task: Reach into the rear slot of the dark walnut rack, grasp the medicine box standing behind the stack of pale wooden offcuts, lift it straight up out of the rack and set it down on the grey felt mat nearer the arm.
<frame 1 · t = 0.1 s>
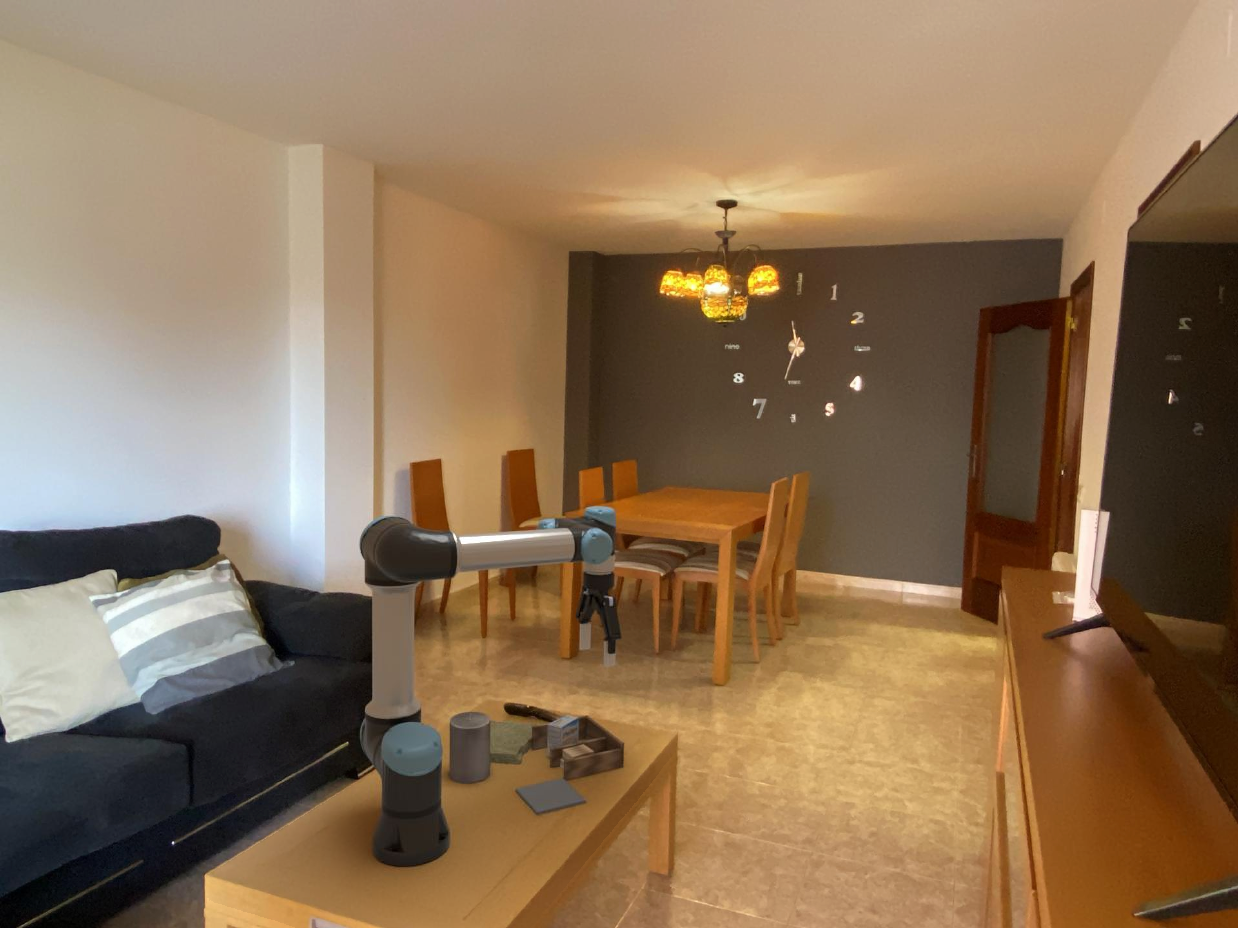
hand: (596, 657, 202), 28 cm above the table, fingers open, 13 cm apart
offcut short: (577, 760, 204), point 2 cm above the table
rack: (576, 757, 210), on the table
green stone slab: (497, 748, 216), on the table
pillar candle: (469, 775, 200), on the table
medicine box: (562, 754, 213), on the table
mat: (550, 796, 190), on the table
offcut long: (579, 769, 205), on the table
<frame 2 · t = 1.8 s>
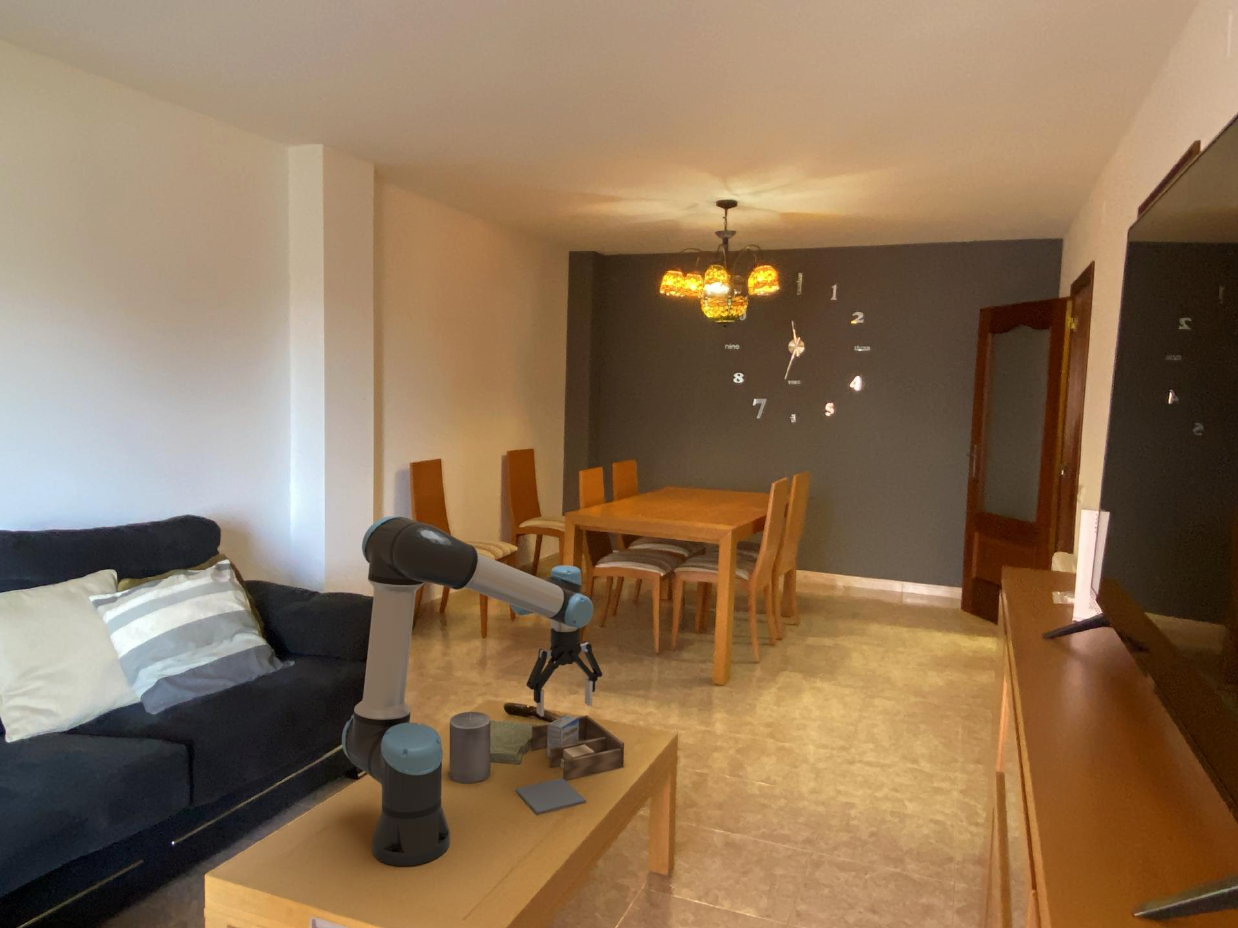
hand: (564, 709, 212), 11 cm above the table, fingers open, 13 cm apart
offcut short: (578, 760, 204), point 2 cm above the table, touching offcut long
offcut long: (579, 769, 205), on the table, touching offcut short
everything else where it was.
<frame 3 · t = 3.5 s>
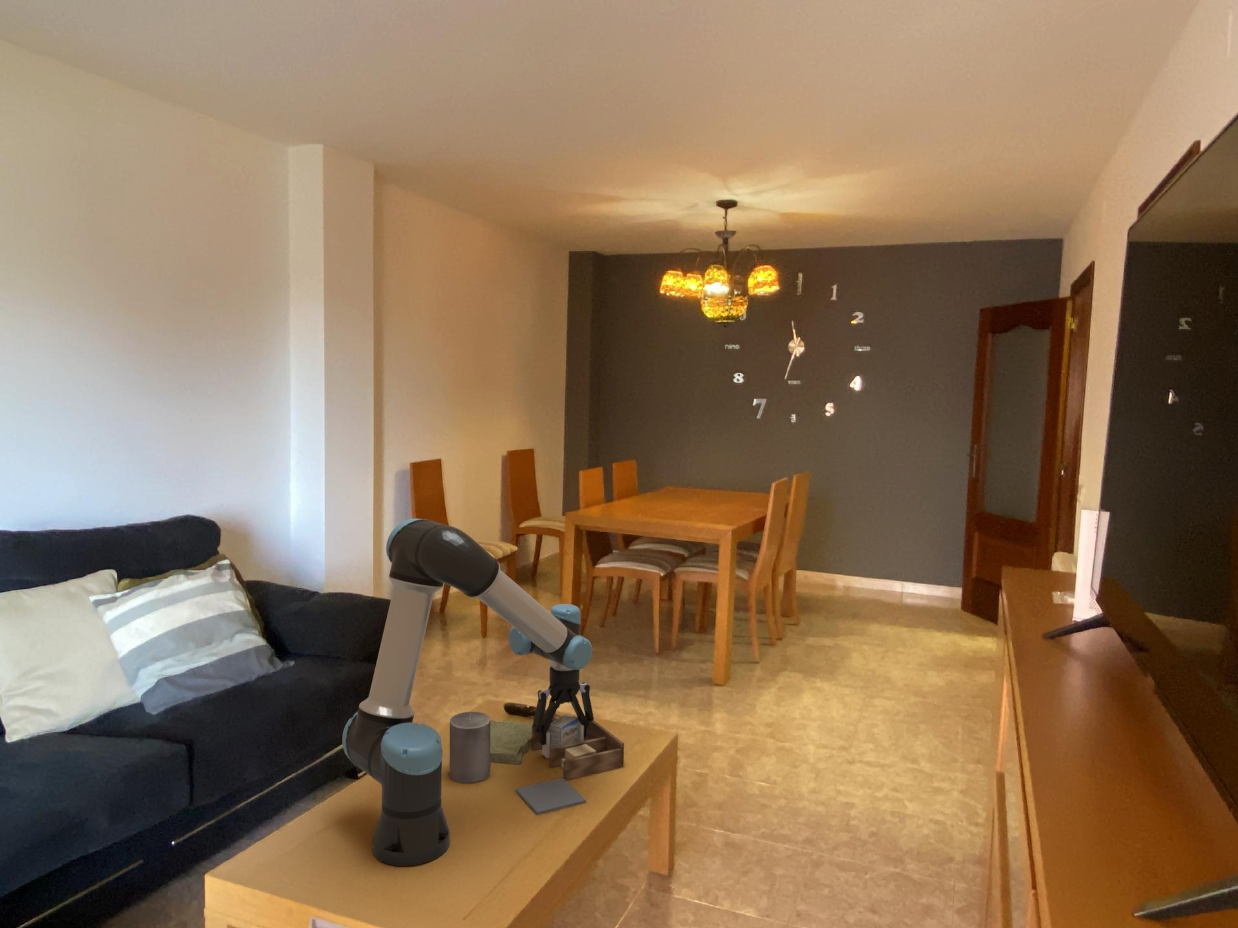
hand: (562, 752, 213), 0 cm above the table, fingers closed on medicine box, 9 cm apart
medicine box: (562, 753, 213), on the table, touching gripper
everything else where it was.
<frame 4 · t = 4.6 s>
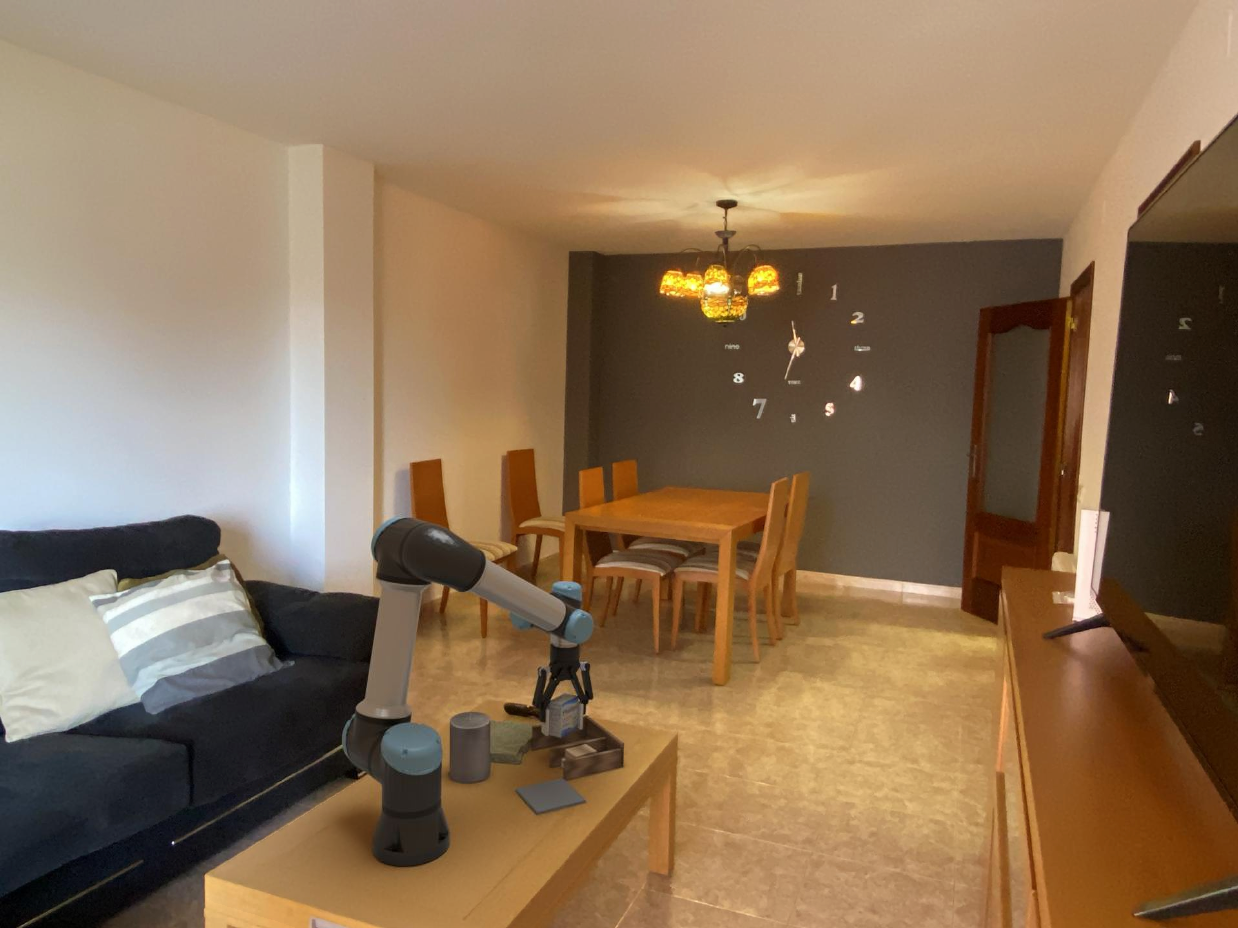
hand: (562, 730, 212), 6 cm above the table, fingers closed on medicine box, 9 cm apart
medicine box: (562, 732, 212), point 6 cm above the table, touching gripper
everything else where it was.
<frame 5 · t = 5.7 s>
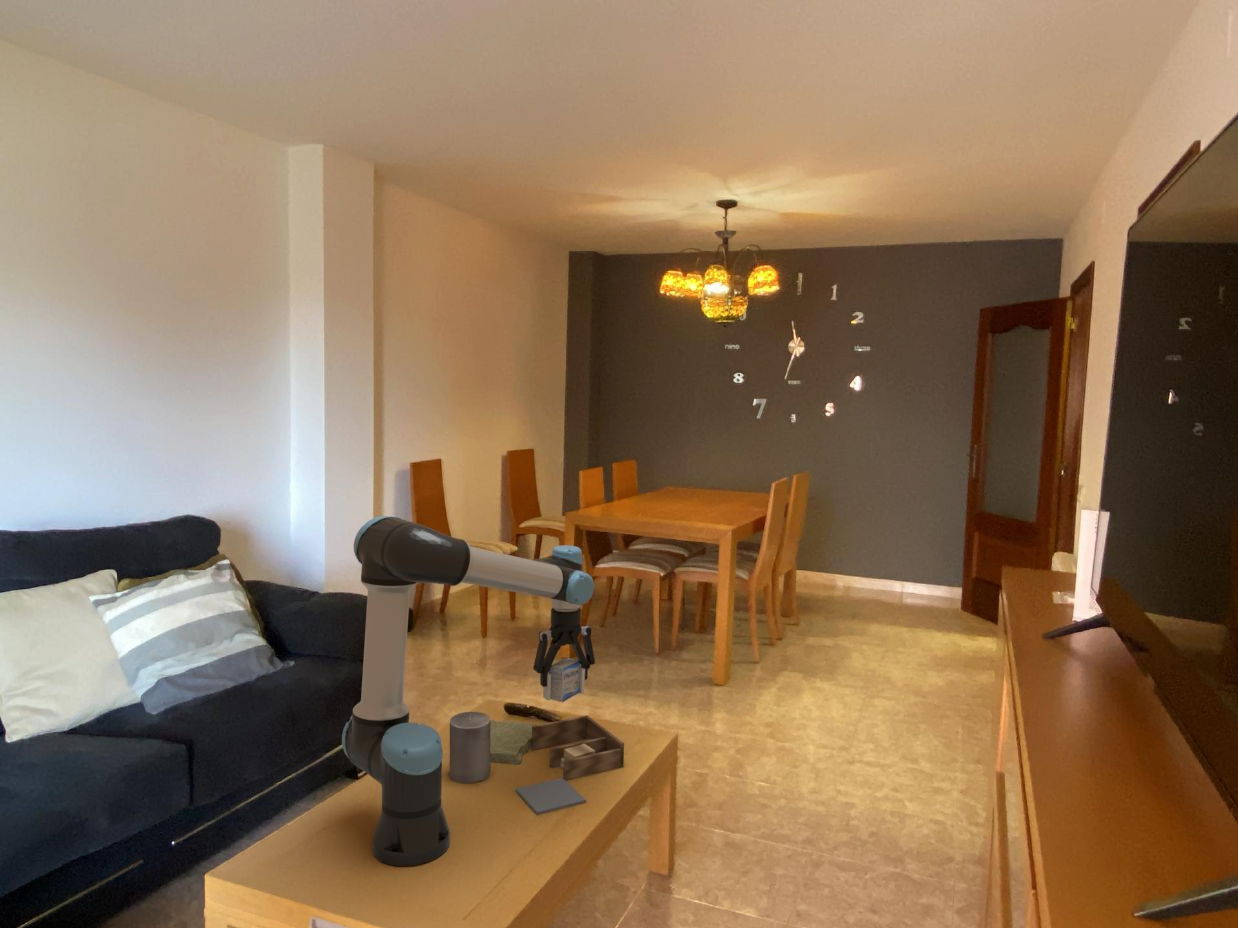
hand: (563, 695, 211), 15 cm above the table, fingers closed on medicine box, 9 cm apart
medicine box: (563, 696, 211), point 15 cm above the table, touching gripper
everything else where it was.
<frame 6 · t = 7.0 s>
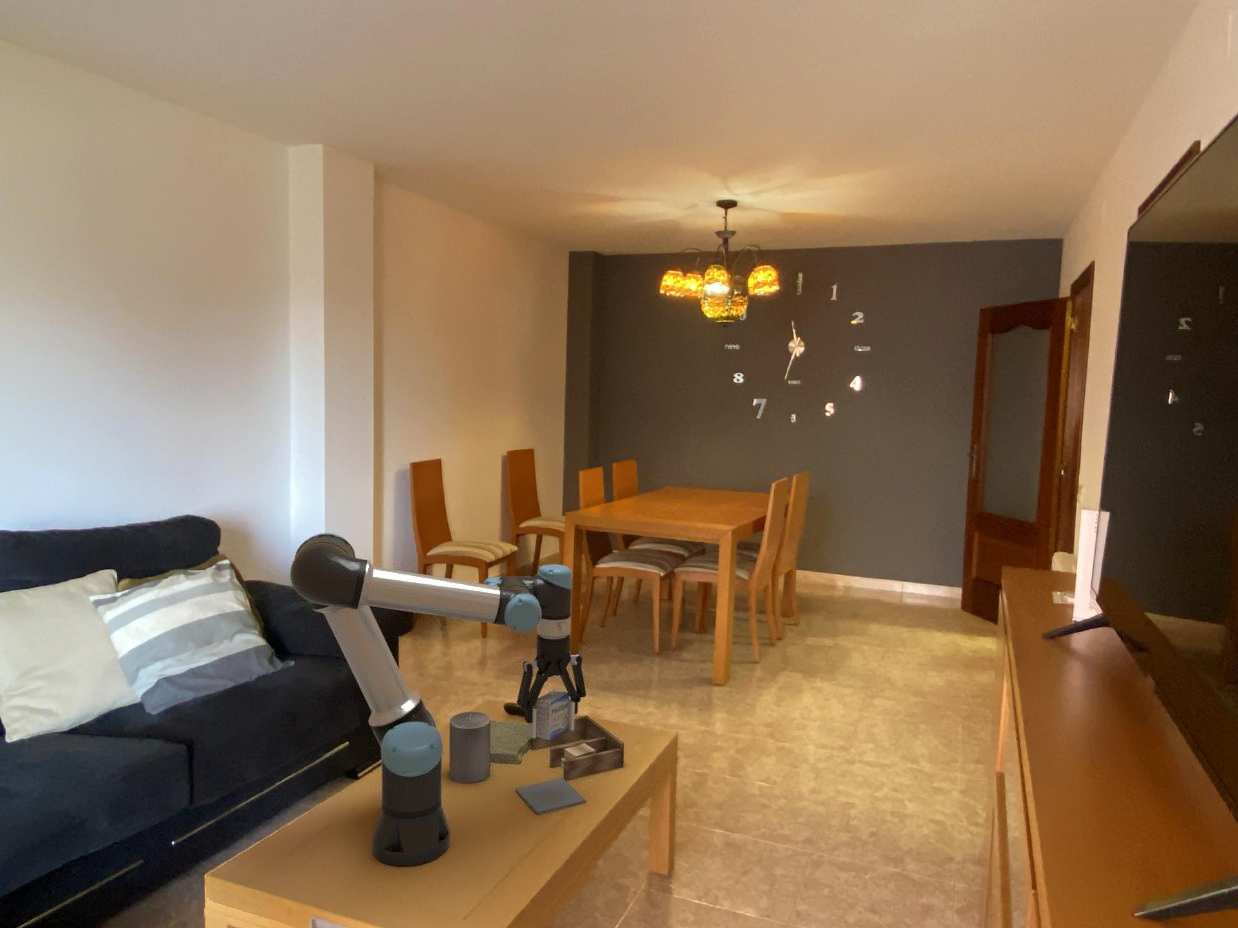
hand: (551, 731, 189), 15 cm above the table, fingers closed on medicine box, 9 cm apart
medicine box: (551, 733, 189), point 15 cm above the table, touching gripper
everything else where it was.
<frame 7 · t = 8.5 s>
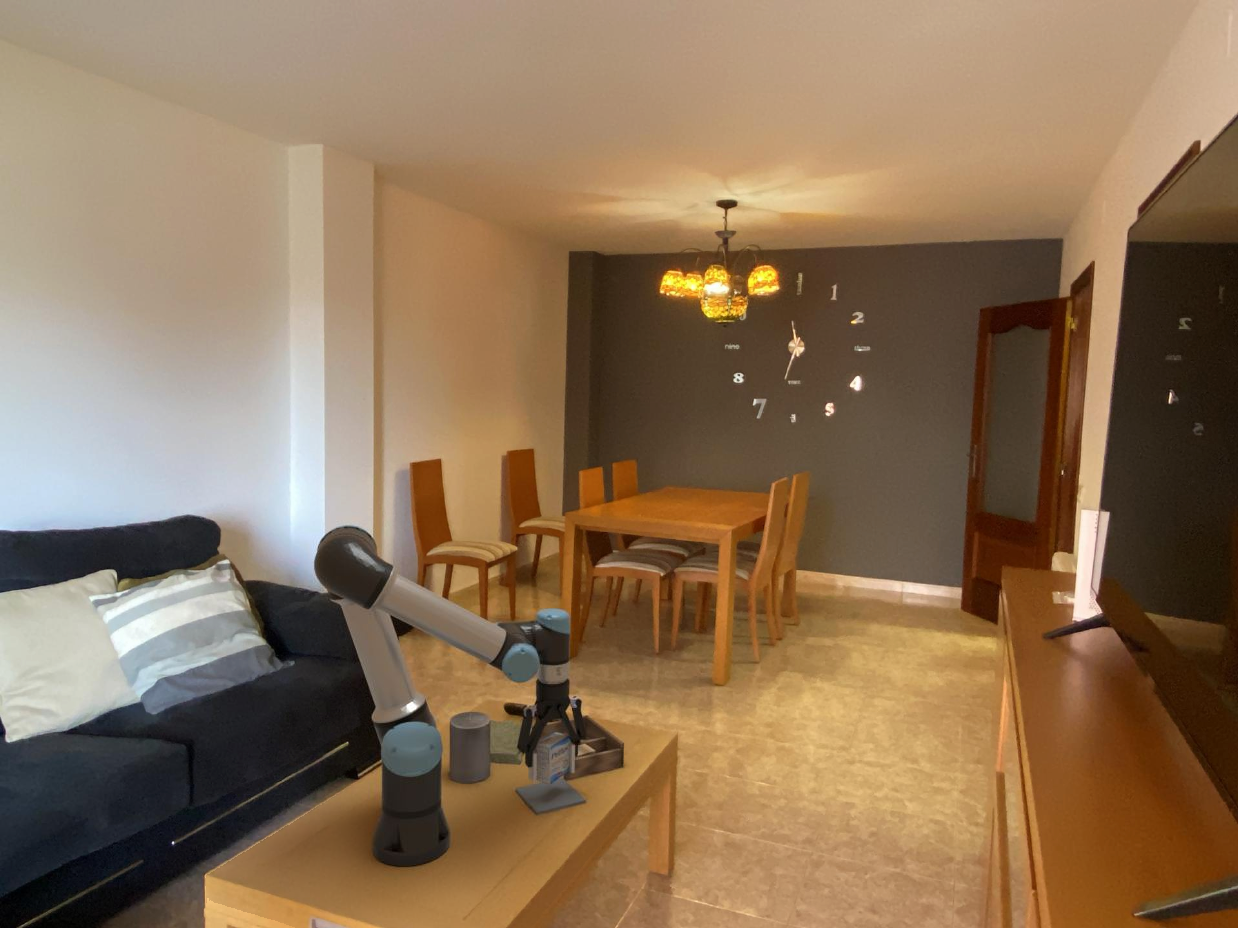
hand: (551, 774, 190), 5 cm above the table, fingers closed on medicine box, 9 cm apart
medicine box: (551, 776, 190), point 5 cm above the table, touching gripper
everything else where it was.
when the fingers open (1 cm above the table, at t = 9.6 s): medicine box stays where it is, resting on mat.
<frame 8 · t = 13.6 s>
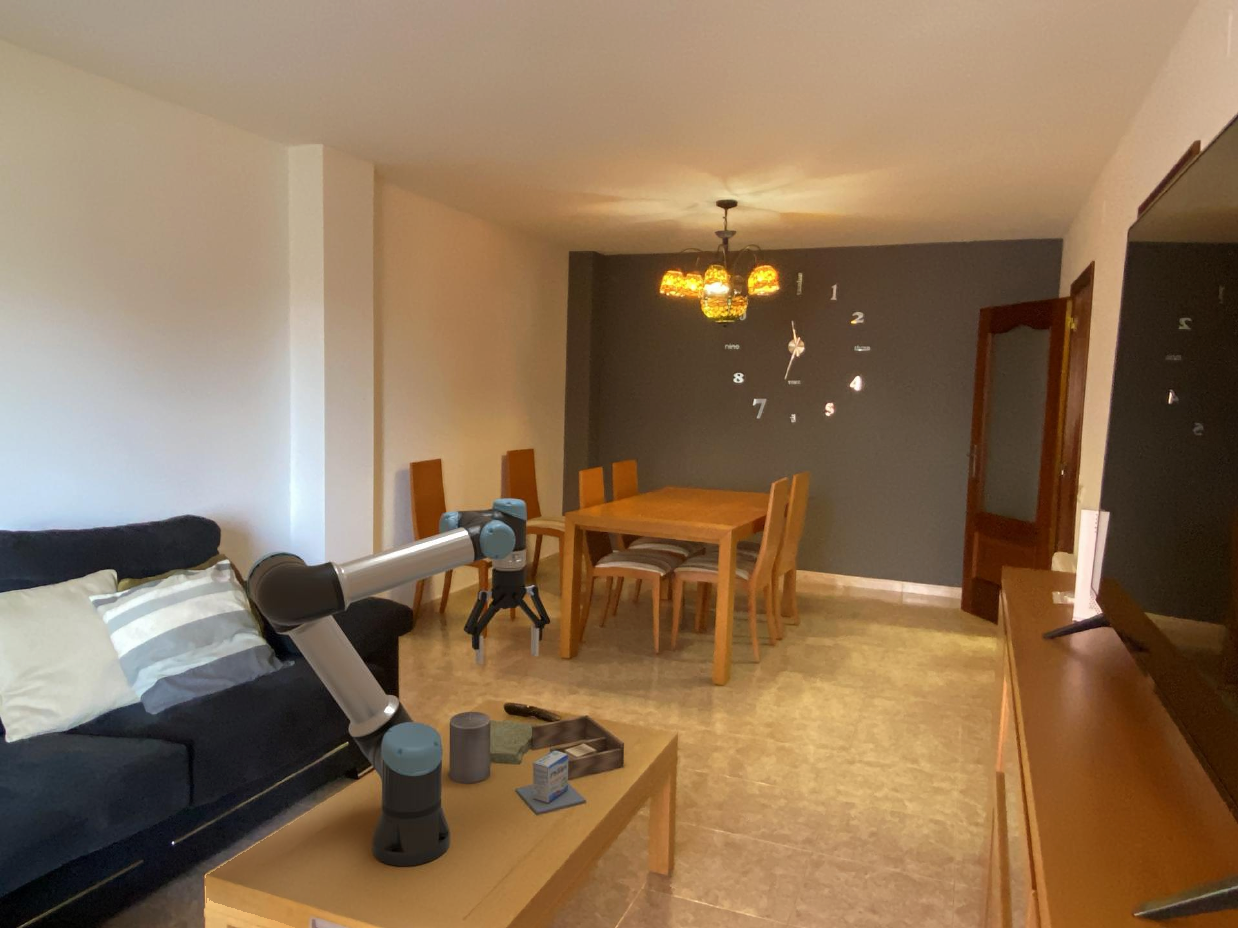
hand: (507, 658, 191), 31 cm above the table, fingers open, 13 cm apart
medicine box: (550, 795, 190), resting on mat
everything else where it was.
at the end: medicine box inside the target area on the mat (0.1 cm from its centre), point 0.4 cm above the mat's base; the gripper is holding nothing; offcut short moved 0.9 cm from its start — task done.
